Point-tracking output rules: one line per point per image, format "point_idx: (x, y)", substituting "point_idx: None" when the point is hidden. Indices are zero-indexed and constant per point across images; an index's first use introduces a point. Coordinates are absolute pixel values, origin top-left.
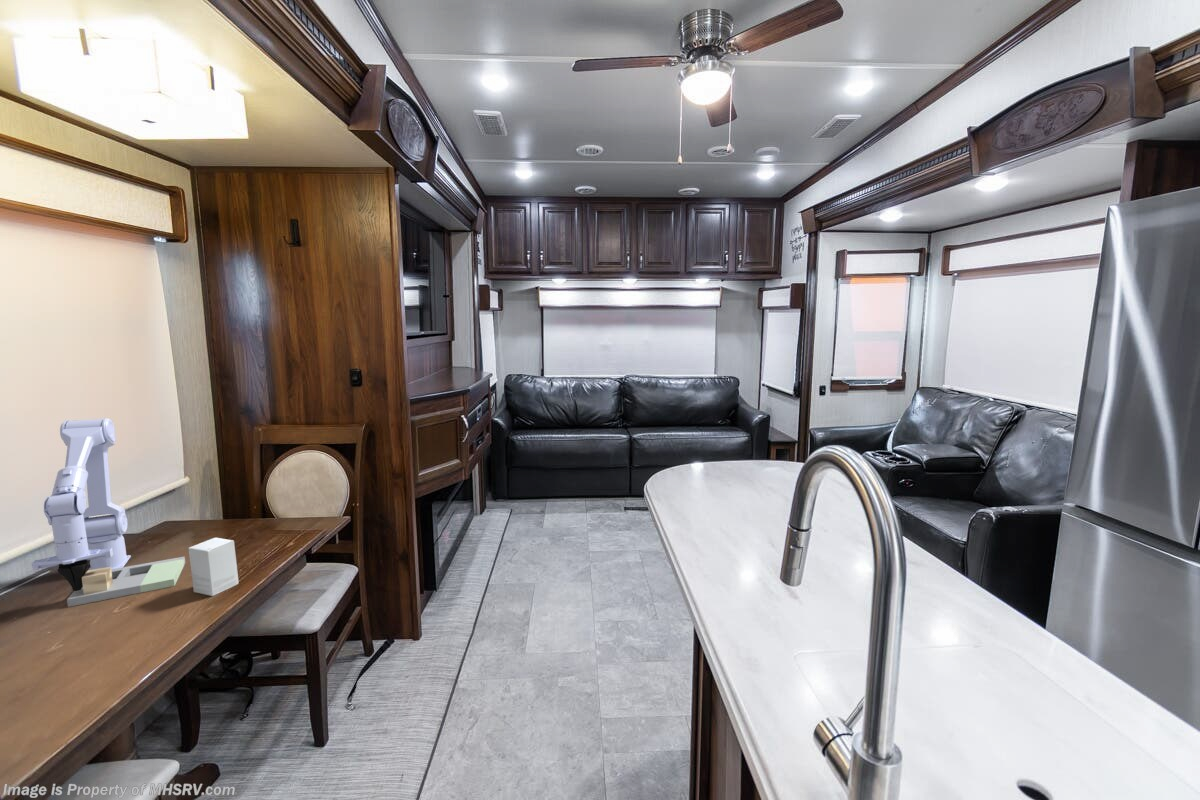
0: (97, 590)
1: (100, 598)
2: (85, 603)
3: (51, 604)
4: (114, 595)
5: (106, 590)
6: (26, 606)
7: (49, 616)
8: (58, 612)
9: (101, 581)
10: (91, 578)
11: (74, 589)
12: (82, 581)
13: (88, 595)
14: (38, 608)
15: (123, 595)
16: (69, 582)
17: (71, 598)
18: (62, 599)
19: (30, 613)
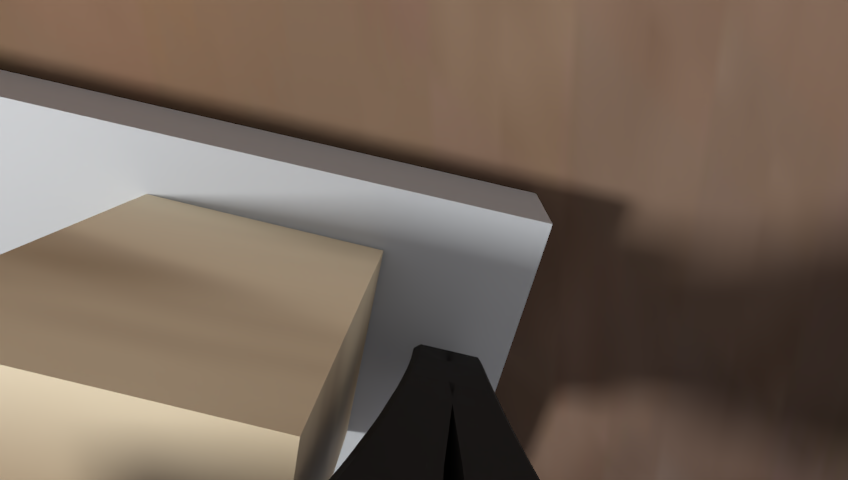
0: (235, 221)
1: (248, 131)
2: (391, 162)
3: (649, 375)
4: (117, 105)
5: (154, 185)
6: (807, 473)
7: (710, 46)
8: (622, 104)
9: (84, 261)
10: (159, 354)
11: (470, 366)
12: (324, 363)
13: (332, 175)
14: (747, 362)
15: (53, 83)
16: (529, 466)
17: (505, 222)
18: (566, 420)
19: (826, 291)
